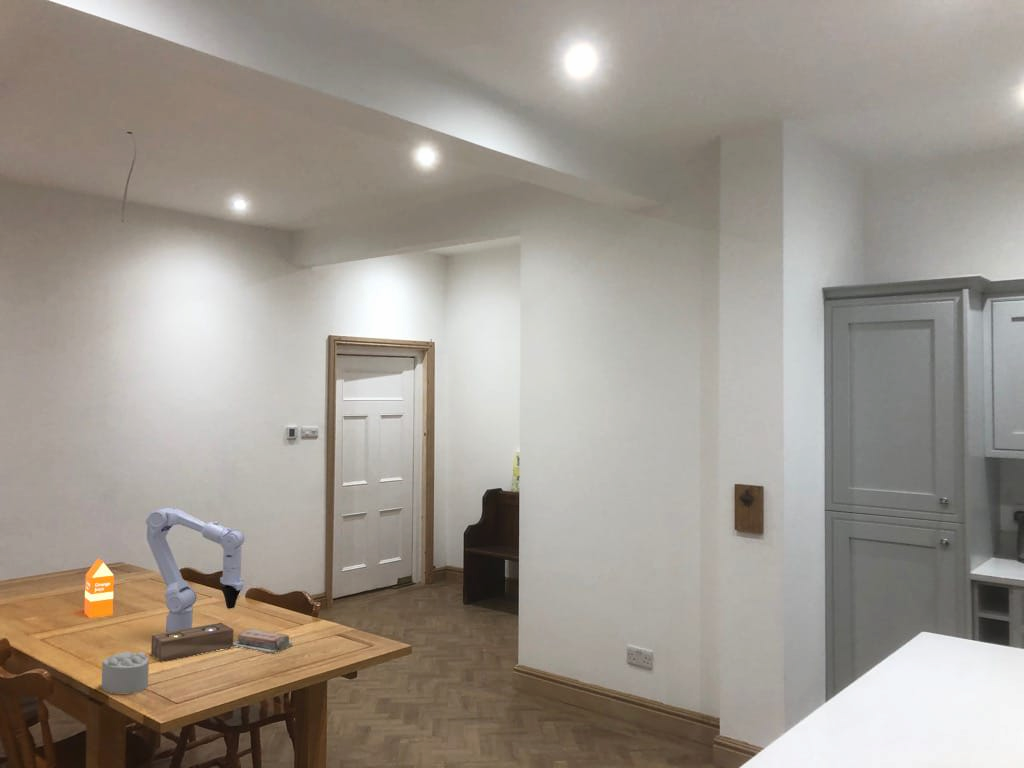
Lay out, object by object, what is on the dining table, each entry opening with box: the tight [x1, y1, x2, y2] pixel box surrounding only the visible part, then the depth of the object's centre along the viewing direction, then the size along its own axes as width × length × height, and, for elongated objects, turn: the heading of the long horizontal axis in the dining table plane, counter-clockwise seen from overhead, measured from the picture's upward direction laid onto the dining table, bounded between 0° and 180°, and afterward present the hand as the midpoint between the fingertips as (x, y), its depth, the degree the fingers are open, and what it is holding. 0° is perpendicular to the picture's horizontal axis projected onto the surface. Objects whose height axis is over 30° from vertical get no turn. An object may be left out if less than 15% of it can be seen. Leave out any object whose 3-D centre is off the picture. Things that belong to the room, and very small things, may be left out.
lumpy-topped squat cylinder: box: [101, 651, 150, 695], centre depth 213 cm, size 10×13×9 cm
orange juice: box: [84, 558, 115, 619], centre depth 286 cm, size 8×9×20 cm
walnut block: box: [150, 622, 234, 662], centre depth 245 cm, size 10×22×6 cm, turn 132°
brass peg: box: [169, 634, 182, 638], centre depth 241 cm, size 4×4×6 cm
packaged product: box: [233, 628, 293, 654], centre depth 251 cm, size 18×5×10 cm
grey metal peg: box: [205, 627, 216, 632], centre depth 248 cm, size 4×4×6 cm
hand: (230, 608), depth 258 cm, fingers closed
